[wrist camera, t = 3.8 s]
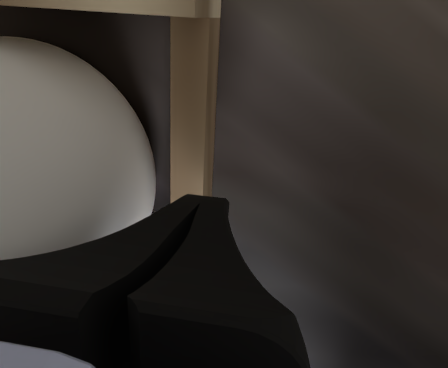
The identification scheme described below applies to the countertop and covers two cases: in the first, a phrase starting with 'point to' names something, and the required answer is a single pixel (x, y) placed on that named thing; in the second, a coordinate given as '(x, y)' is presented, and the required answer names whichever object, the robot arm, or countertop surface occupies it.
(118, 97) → the cup
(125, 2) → the bay
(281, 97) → the countertop surface
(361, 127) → the countertop surface
